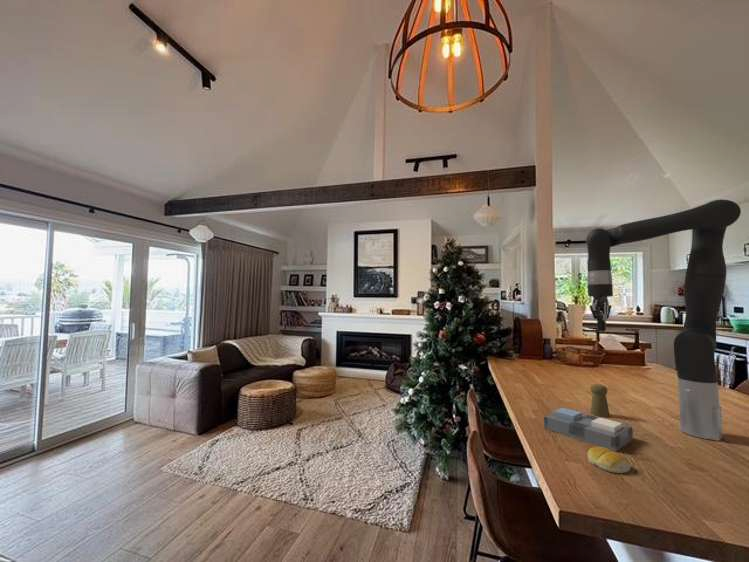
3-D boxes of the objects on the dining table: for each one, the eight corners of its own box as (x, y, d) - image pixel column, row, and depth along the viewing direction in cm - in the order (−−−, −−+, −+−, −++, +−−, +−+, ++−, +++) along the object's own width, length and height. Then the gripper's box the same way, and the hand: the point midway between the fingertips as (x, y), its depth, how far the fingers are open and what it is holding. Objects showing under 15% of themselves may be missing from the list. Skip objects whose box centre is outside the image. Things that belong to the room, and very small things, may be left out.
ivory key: (622, 431, 98) (621, 423, 98) (614, 436, 94) (614, 427, 94) (599, 425, 103) (599, 417, 103) (591, 429, 99) (591, 421, 99)
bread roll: (603, 455, 89) (603, 440, 89) (636, 472, 80) (635, 455, 80) (579, 458, 87) (578, 443, 87) (610, 476, 78) (609, 459, 79)
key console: (632, 439, 99) (632, 426, 99) (615, 451, 91) (614, 437, 91) (564, 419, 115) (564, 408, 115) (544, 428, 107) (544, 416, 107)
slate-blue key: (581, 420, 107) (581, 412, 107) (573, 424, 103) (573, 416, 104) (562, 414, 112) (562, 407, 112) (554, 418, 108) (554, 410, 109)
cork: (613, 417, 117) (611, 387, 118) (594, 416, 118) (593, 386, 119) (604, 412, 123) (603, 383, 124) (587, 411, 124) (586, 382, 125)
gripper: (604, 282, 110) (606, 332, 109) (618, 283, 118) (621, 330, 117) (580, 283, 116) (582, 331, 115) (595, 284, 124) (597, 329, 123)
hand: (601, 330), depth 116 cm, fingers closed
